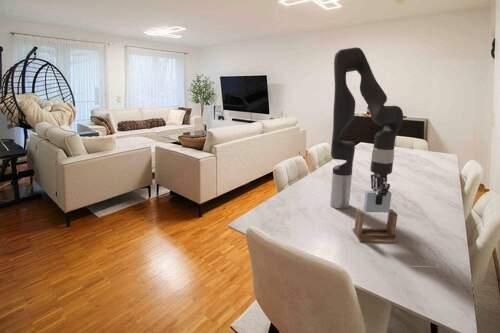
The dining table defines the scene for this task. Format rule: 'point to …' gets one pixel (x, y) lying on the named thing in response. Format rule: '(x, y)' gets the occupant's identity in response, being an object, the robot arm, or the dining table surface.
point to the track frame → (376, 229)
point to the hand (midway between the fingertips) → (377, 202)
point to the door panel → (371, 202)
